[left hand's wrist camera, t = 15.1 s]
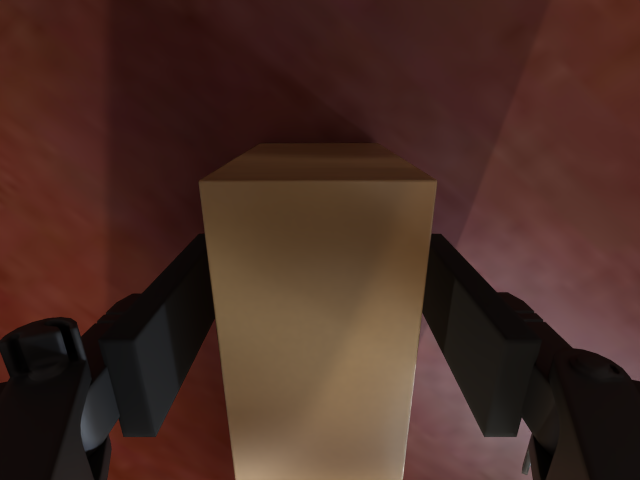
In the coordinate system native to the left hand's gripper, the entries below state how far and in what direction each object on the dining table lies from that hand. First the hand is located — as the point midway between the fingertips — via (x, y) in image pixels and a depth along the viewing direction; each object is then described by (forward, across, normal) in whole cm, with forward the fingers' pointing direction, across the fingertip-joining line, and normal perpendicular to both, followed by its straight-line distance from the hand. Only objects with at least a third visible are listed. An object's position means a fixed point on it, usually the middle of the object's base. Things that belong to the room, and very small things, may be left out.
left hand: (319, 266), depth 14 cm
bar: (+3, 0, -7) cm, 8 cm away
